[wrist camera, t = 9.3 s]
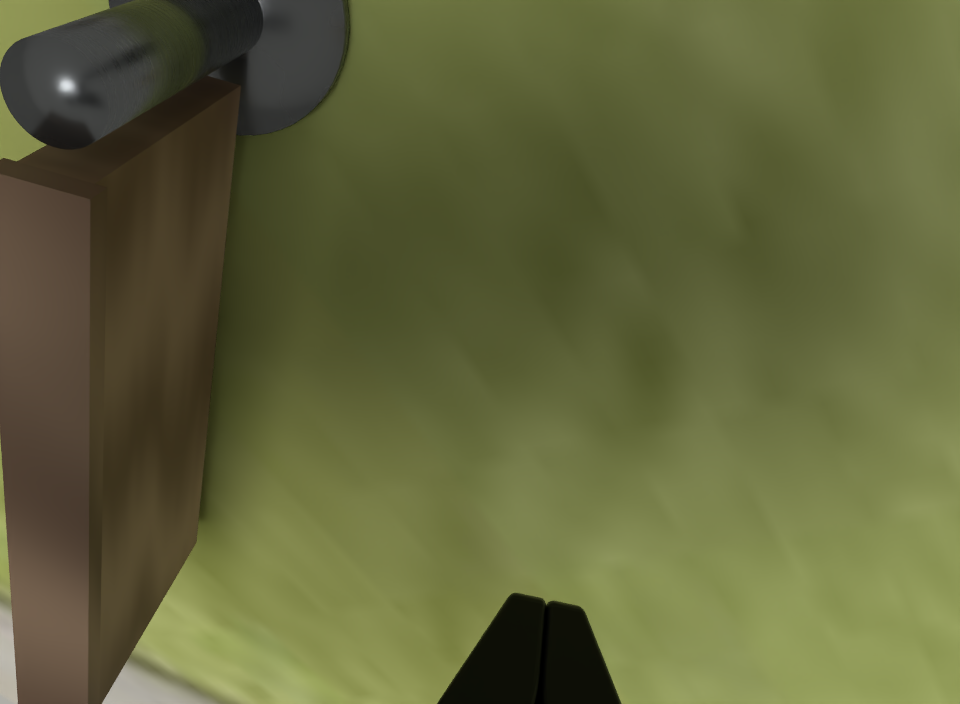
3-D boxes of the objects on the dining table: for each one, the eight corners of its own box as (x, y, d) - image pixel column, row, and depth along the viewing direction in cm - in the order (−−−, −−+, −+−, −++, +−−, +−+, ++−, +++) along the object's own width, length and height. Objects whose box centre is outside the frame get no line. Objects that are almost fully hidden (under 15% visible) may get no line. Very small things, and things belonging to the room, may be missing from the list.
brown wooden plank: (202, 544, 25) (87, 744, 20) (136, 525, 25) (2, 720, 20) (250, 88, 18) (90, 199, 13) (157, 61, 18) (-45, 161, 12)
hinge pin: (358, -100, 17) (223, -67, 11) (341, 149, 19) (225, 283, 14) (108, -146, 17) (-156, -137, 11) (124, 107, 19) (-81, 221, 14)
